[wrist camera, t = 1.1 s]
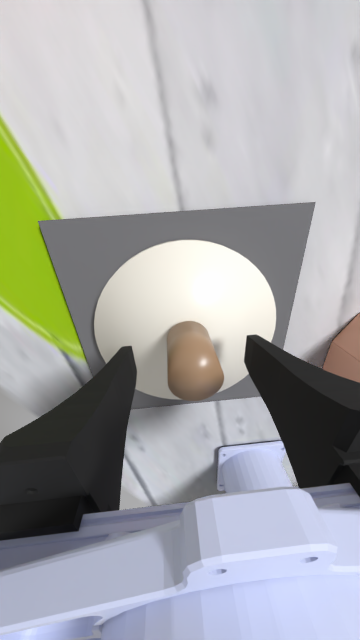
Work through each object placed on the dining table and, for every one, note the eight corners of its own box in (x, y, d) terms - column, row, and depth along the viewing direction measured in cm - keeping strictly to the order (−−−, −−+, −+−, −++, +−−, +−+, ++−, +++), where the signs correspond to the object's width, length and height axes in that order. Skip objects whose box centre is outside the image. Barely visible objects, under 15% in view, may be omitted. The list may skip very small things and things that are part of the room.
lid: (259, 384, 18) (291, 441, 14) (118, 399, 18) (102, 462, 13) (285, 231, 12) (359, 239, 8) (73, 247, 12) (13, 266, 7)
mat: (270, 391, 19) (272, 395, 19) (106, 408, 19) (105, 411, 18) (311, 202, 12) (315, 202, 12) (41, 221, 11) (37, 221, 11)
